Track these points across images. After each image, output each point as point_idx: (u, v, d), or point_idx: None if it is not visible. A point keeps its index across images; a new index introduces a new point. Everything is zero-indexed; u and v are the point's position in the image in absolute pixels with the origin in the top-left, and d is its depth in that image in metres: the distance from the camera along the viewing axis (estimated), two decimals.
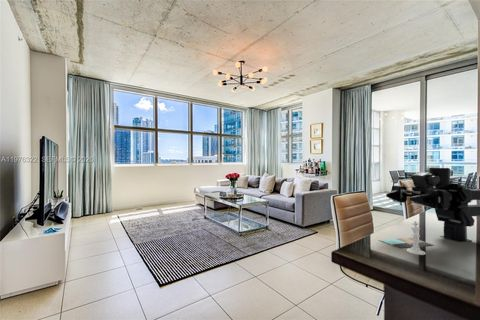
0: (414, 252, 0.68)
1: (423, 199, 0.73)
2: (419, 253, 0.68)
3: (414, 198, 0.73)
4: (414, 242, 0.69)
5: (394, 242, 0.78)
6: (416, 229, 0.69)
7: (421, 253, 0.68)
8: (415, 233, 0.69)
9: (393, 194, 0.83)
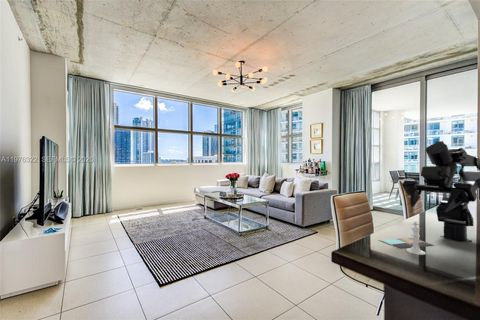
0: (414, 252, 0.68)
1: (454, 202, 0.70)
2: (419, 253, 0.68)
3: (448, 208, 0.69)
4: (414, 242, 0.69)
5: (394, 242, 0.78)
6: (416, 229, 0.69)
7: (421, 253, 0.68)
8: (415, 233, 0.69)
9: (414, 199, 0.79)
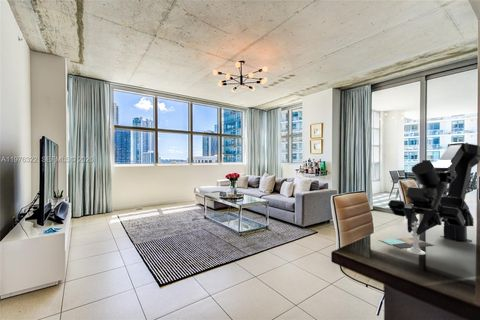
0: (414, 252, 0.68)
1: (426, 225, 0.68)
2: (419, 253, 0.68)
3: (420, 231, 0.68)
4: (414, 242, 0.69)
5: (394, 242, 0.78)
6: (416, 229, 0.69)
7: (421, 253, 0.68)
8: (415, 233, 0.69)
9: None
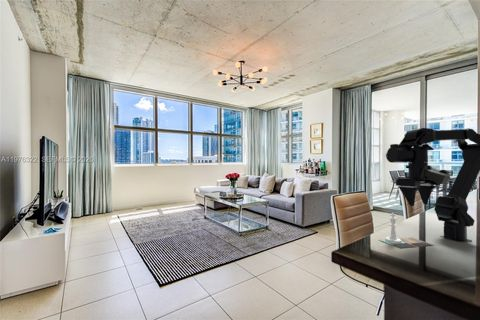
0: (391, 240, 0.77)
1: None
2: (395, 240, 0.76)
3: None
4: (392, 231, 0.78)
5: None
6: (393, 219, 0.78)
7: (397, 240, 0.76)
8: (392, 223, 0.78)
9: None
